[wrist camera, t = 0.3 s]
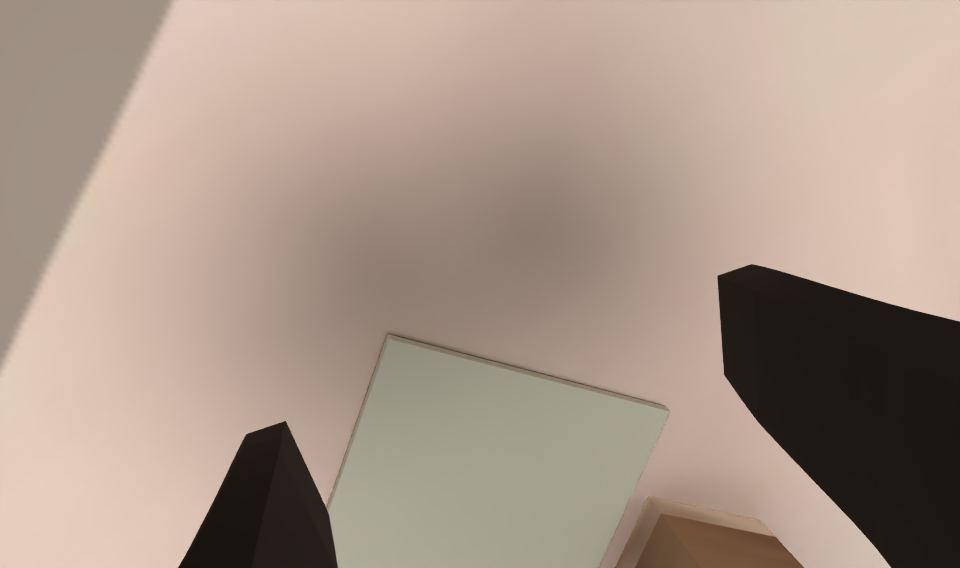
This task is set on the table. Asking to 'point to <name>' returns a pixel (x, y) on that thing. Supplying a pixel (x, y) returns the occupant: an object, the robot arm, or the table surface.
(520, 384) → the sage mat
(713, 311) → the table surface
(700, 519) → the walnut block
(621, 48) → the table surface
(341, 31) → the table surface
